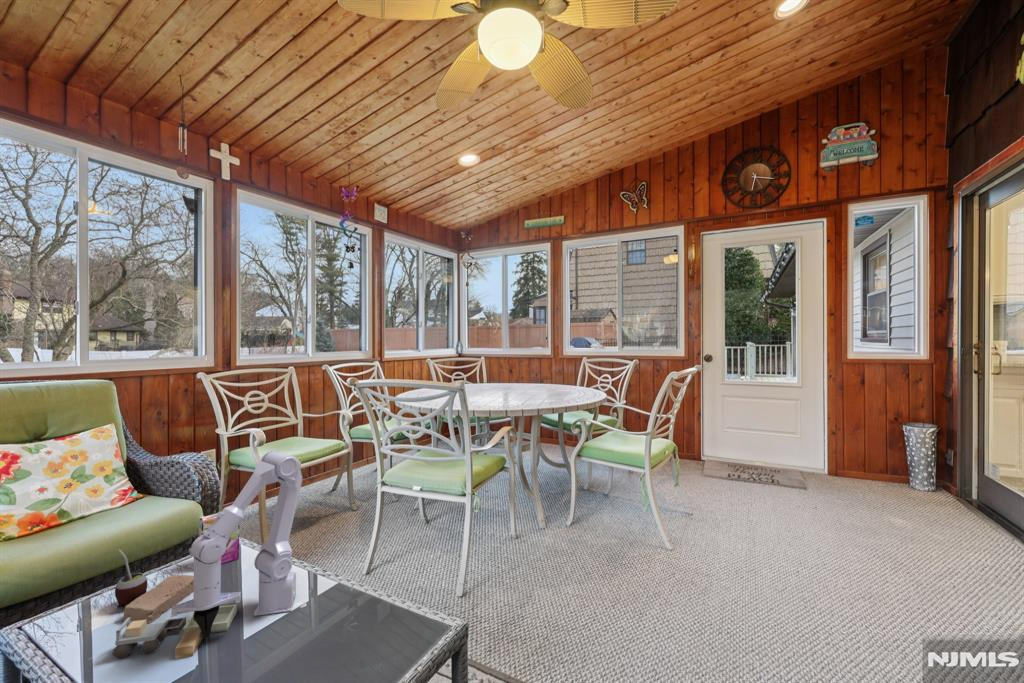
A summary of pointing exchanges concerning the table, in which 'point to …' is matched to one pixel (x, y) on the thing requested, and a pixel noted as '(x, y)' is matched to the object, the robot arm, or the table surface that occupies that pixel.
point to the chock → (188, 644)
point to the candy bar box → (233, 541)
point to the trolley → (138, 637)
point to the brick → (160, 598)
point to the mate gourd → (130, 586)
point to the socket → (175, 622)
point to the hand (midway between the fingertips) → (206, 635)
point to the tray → (215, 620)
